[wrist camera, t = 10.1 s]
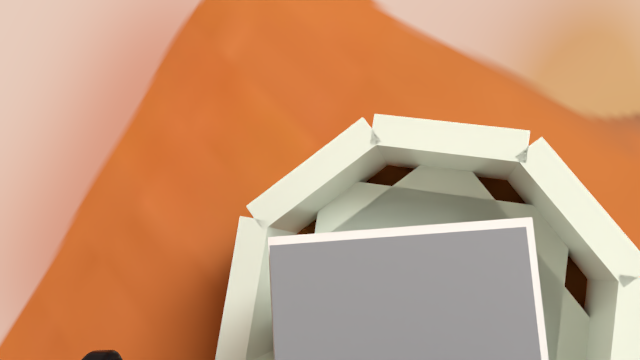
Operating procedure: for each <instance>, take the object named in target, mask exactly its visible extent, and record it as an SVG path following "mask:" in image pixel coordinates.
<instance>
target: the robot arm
mask: <svg viewBox="0 0 640 360" xmlns="http://www.w3.org/2000/svg"><path fill="white" fill-rule="evenodd" d="M82 360H122V358H121V356H120V355H119V353H118V352H116V351H115V350H96V351H92V352H90V353H88V354H87V355H86V356H85V357H84V358H83V359H82Z"/></svg>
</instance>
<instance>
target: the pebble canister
mask: <svg viewBox="0 0 640 360" xmlns="http://www.w3.org/2000/svg"><path fill="white" fill-rule="evenodd" d="M268 250H269V271H270V292H271V312H272V333H273V354H274V360H549V357H548V349H547V340H546V331H545V323H544V314H543V306H542V297H541V288H540V280H539V271H538V262H537V254H536V245H535V237H534V228H533V219H532V217H526V218H513V219H500V220H486V221H473V222H460V223H447V224H434V225H421V226H407V227H394V228H381V229H368V230H355V231H342V232H328V233H315V234H302V235H289V236H276V237H268Z"/></svg>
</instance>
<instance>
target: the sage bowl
mask: <svg viewBox="0 0 640 360" xmlns="http://www.w3.org/2000/svg"><path fill="white" fill-rule="evenodd" d="M529 136H530V130H520V129H511V128H502V127H493V126H483V125H474V124H465V123H456V122H446V121H437V120H428V119H418V118H409V117H400V116H391V115H381V114H374V120H373V127H372V128H371V127H370V126H369V124H368V123H367V122H366V120H365V119H364V118H363V117H362V118H361V119H360V120H358V121H357V122H356V123H354V124H353V125H352V126H350V127H349V128H348V129H346V130H345V131H344V132H343V133H341V134H340V135H339V136H337V137H336V138H335V139H333V140H332V141H331V142H329V143H328V144H327V145H325V146H324V147H323V148H322V149H320V150H319V151H318V152H316V153H315V154H314V155H312V156H311V157H310V158H308V159H307V160H306V161H305V162H303V163H302V164H301V165H299V166H298V167H297V168H295V169H294V170H293V171H291V172H290V173H289V174H287V175H286V176H285V177H284V178H282V179H281V180H280V181H278V182H277V183H276V184H274V185H273V186H272V187H270V188H269V189H268V190H266V191H265V192H264V193H263V194H261V195H260V196H259V197H257V198H256V199H255V200H253V201H252V202H251V203H249V204H248V205H247V206H246V207H247V208H248V210H249V211H250V213H251V214H252V216H253V217H254V218H249V217H242V216H240V219H239V225H238V230H237V236H236V242H235V248H234V253H233V259H232V265H231V271H230V276H229V282H228V288H227V294H226V300H225V305H224V311H223V317H222V323H221V328H220V334H219V340H218V346H217V351H216V357H215V360H274V354H273V333H272V312H271V292H270V271H269V250H268V237H276V236H289V235H297V233H298V232H300V231H301V230H302V229H304V228H305V227H306V226H308V225H309V224H310V223H312V222H313V221H314V220H316V219H317V221H316V227H315V233H328V232H342V231H355V230H368V229H381V228H394V227H407V226H421V225H434V224H447V223H460V222H473V221H486V220H500V219H513V218H526V217H532V219H533V228H534V237H535V245H536V254H537V262H538V271H539V280H540V288H541V297H542V306H543V314H544V323H545V331H546V340H547V349H548V357H549V360H640V278H639V276H640V251H639V250H638V249H637V247H636V246H635V245H634V244H633V243H632V242H631V240H630V239H629V238H628V237H627V236H626V234H625V233H624V232H623V231H622V230H621V229H620V227H619V226H618V225H617V224H616V223H615V222H614V220H613V219H612V218H611V217H610V216H609V215H608V213H607V212H606V211H605V210H604V209H603V208H602V206H601V205H600V204H599V203H598V202H597V201H596V199H595V198H594V197H593V196H592V195H591V193H590V192H589V191H588V190H587V189H586V188H585V186H584V185H583V184H582V183H581V182H580V181H579V179H578V178H577V177H576V176H575V175H574V174H573V172H572V171H571V170H570V169H569V168H568V167H567V165H566V164H565V163H564V162H563V161H562V160H561V158H560V157H559V156H558V155H557V154H556V152H555V151H554V150H553V149H552V148H551V147H550V145H549V144H548V143H547V142H546V141H545V140H544V138H543V137H541V138H539V139H538V140H537V141H535V142H534V143H533V144H531V145H530V146H529V147H528V145H529ZM388 165H390V166H398V167H406V168H414V170H413V171H412V172H410V173H409V174H408V175H406V176H405V177H404V178H402V179H401V180H400V181H398V182H397V183H396V184H394V185H393V186H387V185H379V184H372V183H365V182H366V181H368V180H369V179H370V178H372V177H373V176H374V175H376V174H377V173H378V172H380V171H381V170H382V169H384V168H385V167H386V166H388ZM476 176H478V177H485V178H493V179H501V180H507V181H508V182H509V184H510V185H511V186H512V187H513V188H514V190H515V191H516V192H517V193H518V195H519V196H520V197H521V198H522V199H523V201H524V202H525V203H526V204H521V203H514V202H506V201H499V200H495V199H494V198H493V197H492V195H491V194H490V193H489V192H488V190H487V189H486V188H485V187H484V185H483V184H482V183H481V182H480V181H479V179H478V178H477V177H476ZM315 233H314V234H315ZM568 256H569V257H570V258H571V259H572V261H573V262H574V263H575V264H576V265H577V267H578V268H579V269H580V270H581V272H582V273H583V274H584V275H585V276H586V278H587V288H586V297H585V306H584V310H583V308H582V307H581V306H580V305H579V304H578V302H577V301H576V300H575V299H574V297H573V296H572V295H571V294H570V292H569V291H568V290H567V289H566V287H565V277H566V268H567V259H568Z"/></svg>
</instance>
